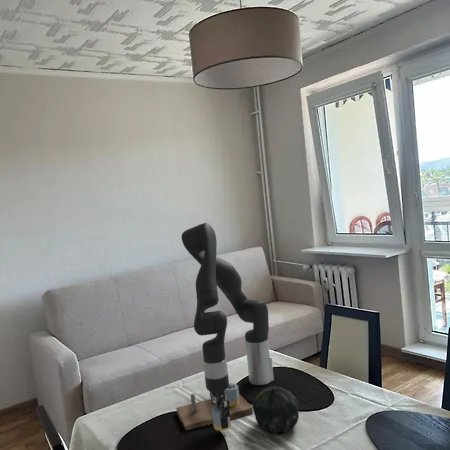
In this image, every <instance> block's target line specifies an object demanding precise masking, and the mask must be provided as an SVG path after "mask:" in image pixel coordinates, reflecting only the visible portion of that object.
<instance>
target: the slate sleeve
mask: <svg viewBox="0 0 450 450" xmlns="http://www.w3.org/2000/svg"><path fill="white" fill-rule="evenodd" d="M219 407H221V405H220V406H219ZM224 413H225V412H224ZM212 417H213V424H212V425H213V428H214V430H215V431H219V432H222V431H227V430H229V428H230V427H231V426H232V423H231V419H230V417H227V418H228V428H225V429H222V428H221V421H220V415H219V411H218V410H217V408H216V406H214V407H213V408H212Z"/></svg>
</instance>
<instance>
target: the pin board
mask: <svg viewBox="0 0 450 450" xmlns="http://www.w3.org/2000/svg"><path fill="white" fill-rule="evenodd" d="M229 384H230V383H229ZM232 388H233V386H232V385H231V384H230V385H229V387H228V389H232ZM239 398H240V403H239V404H238V405H236V406H233V407H230V406H229V407H230V420H234V419H237V418H241V417H245V416H249V415H250V414H254V411H253V406H251V405H250V403H249V402H248V401H247V400H246V399H245V397H244V396H242V395H241V393H240V392H239ZM190 402H191V403H189V404H185V405H181V406H177V407H176V408H175V410H176V415H177V416H178V418H179V420H180V423H181V424H182V423H183V424H182V426H183V425H184V426H183V428H184V427H185V428H184V429H186V430H189V429H193V428H197V427H201V426H204V427H206V426H205V425H208V426H211V425H210V424H212V425H213V417H212V408H213V405H212V404H211V398H209V399H205V400H201V401H196V395H195V393H191V394H190ZM201 428H202V427H201ZM197 429H198V428H197ZM186 430H185V431H186ZM193 430H194V429H193Z"/></svg>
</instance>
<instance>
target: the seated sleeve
mask: <svg viewBox="0 0 450 450" xmlns="http://www.w3.org/2000/svg"><path fill="white" fill-rule="evenodd" d="M230 384H231V385H232V386H233V388H232V389H228V388H227V389H226V390H225V391H224V392H225V393H226V396H227V398H226V400H229V406H230V407H233V406H236V405H238V404H239V403H240V398H239V393H240V390H239V389H240V388H239V385H238V384H236V383H230V382H229V385H230Z"/></svg>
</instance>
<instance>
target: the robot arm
mask: <svg viewBox="0 0 450 450" xmlns="http://www.w3.org/2000/svg"><path fill="white" fill-rule="evenodd" d="M181 242H182V244H183V246H184V248H185V250H186V251H187V252H188V253H189V255H190V256H192V258H194V260H196V262H197V263H198V264H199V265H200V268H199V269H198V273H197V275H196V280H195V293H196V311H195V316H194V320H193V321H194V322H193V328H194V332H195V333H196V334H197V335H199V336H209V335H215V336H214V337H212V338H211V339H207V340H206V341H204V342H203V343H202V357H203V373H204V383H205V387H206V390H207V391H208V392H209V397H210V398H209V399H211V404H212V405H213V407H214V406H216V408H217V410H218V411H219V415H220V421H221V428H222V429H225V428H228V418H227V417H230V407H229V400H226V398H227V396H226V393H225V392H224V391H225V390H226V389H227V388H228V387H229V384H230V378H229V370H228V363H227V359H226V350H225V338H226V332H227V327H228V317H227V315H226V313H225V312H224V311H222V310H214V311H207V310H208V309H210V308H213V307H215V306H217V305H218V303H219V293H218V289H219V290H220V291H221V292H222V293H223V294H224V296H225V298H226V299H227V300H228V301H229V303H230V304H231V305H232V307H233V309H234V311H235V312H236V315H238V317H239V319H240V320H241V321H243V322H244V323H251V324H252V329H249V330H247V331H246V332H245V334H244V338H245V339H244V341H245V350H246V351H245V352H246V360H247V372H248V380H249V383H250V384H251V385H255V386H262V385H268V384H269V383H271V382H273V381H275V380H274V379H275V377H274V368H273V367H274V366H273V359H272V358H273V357H271V356H270V345H269V332H270V331H269V329H270V327H269V323H270V321H269V309H268V308H269V307H268V306H267V303H266V302H265V301H263V300H257V299H250V298H248V297H247V296H246V294H245V293H244V292H243V291H242V284H243V283H242V278H241V275H240V274H239V273H238V271H237V270H236V268H235V266H233V264H231V262H229V261H227V260H225V259H222V258H220V257H217V244H218V243H217V236H216V232H215V230H214V227H212V225H211V224H210V223H208V222H203V223H200V224H198V225H195V226H193V227H190V228H188V229H186V230H185V231H183V232H182V233H181ZM220 405H221V407H219V406H220ZM224 412H225V413H224Z"/></svg>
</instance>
